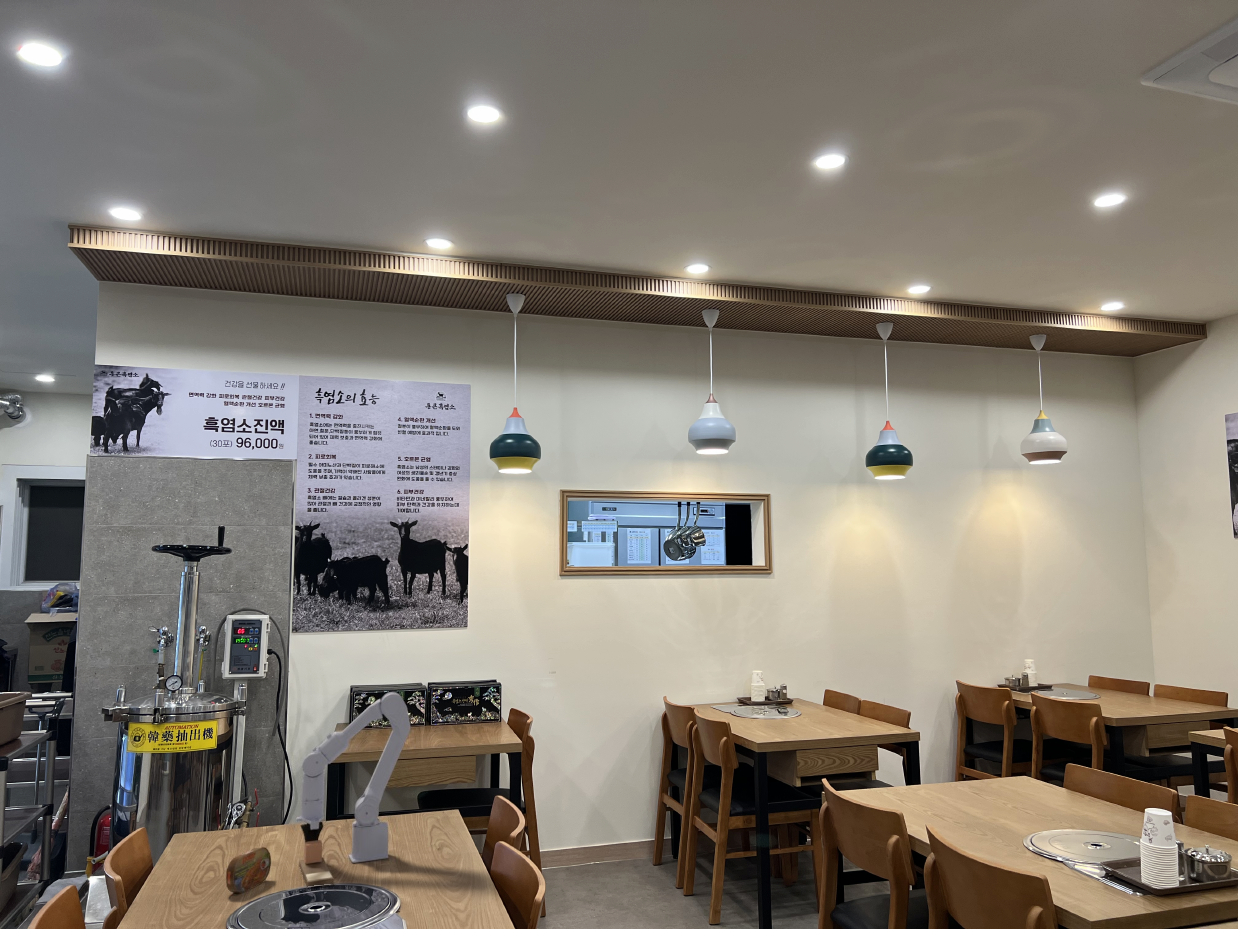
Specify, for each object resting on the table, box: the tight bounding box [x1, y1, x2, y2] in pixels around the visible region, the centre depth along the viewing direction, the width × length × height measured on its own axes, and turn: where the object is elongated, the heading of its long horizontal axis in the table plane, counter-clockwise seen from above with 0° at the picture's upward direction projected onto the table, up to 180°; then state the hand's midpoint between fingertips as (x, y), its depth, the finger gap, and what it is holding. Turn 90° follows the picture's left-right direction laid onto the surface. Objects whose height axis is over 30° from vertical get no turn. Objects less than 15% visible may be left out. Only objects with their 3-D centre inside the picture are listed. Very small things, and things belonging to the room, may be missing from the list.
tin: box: [225, 846, 272, 894], centre depth 211 cm, size 15×3×8 cm, turn 168°
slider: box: [303, 839, 323, 864], centre depth 226 cm, size 4×4×4 cm
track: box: [298, 856, 334, 888], centre depth 219 cm, size 6×22×2 cm, turn 25°
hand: (311, 852), depth 230 cm, fingers closed
